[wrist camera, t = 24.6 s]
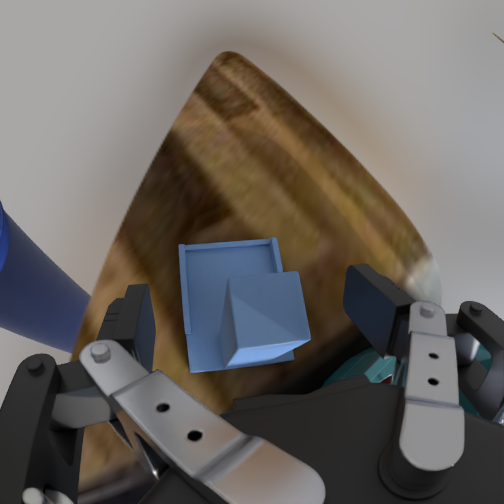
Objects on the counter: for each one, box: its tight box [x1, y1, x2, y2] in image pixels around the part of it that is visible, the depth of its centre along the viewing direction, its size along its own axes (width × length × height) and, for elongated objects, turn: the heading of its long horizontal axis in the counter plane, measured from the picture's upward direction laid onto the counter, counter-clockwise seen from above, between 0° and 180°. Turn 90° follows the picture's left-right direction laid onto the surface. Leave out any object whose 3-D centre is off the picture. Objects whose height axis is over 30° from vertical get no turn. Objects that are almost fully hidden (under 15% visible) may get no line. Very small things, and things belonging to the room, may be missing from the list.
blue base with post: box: [179, 237, 311, 373], centre depth 16 cm, size 8×7×11 cm
